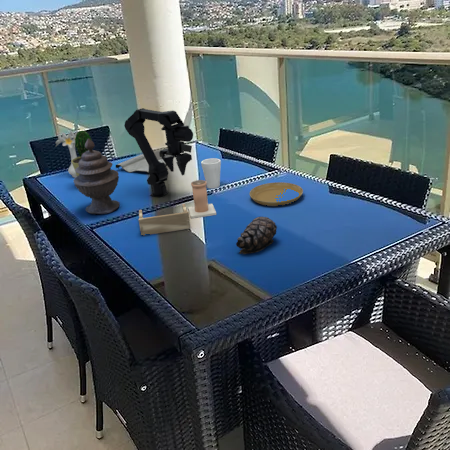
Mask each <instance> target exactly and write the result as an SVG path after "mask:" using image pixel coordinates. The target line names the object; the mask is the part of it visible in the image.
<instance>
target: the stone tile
mask: <svg viewBox="0 0 450 450" xmlns="http://www.w3.org/2000/svg"><path fill="white" fill-rule="evenodd" d="M213 204H214V203H208V211H206V212H196V211H195V207H194V205H193V206H188V207H187V209H188V210H187V211H188V212H189V218H190V219H197V218H204V217H210V216H217V211H216V209H215V207H214V205H213Z"/></svg>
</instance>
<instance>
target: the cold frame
mask: <svg viewBox="0 0 450 450" xmlns="http://www.w3.org/2000/svg"><path fill="white" fill-rule="evenodd" d="M181 205H182V211H181V212H176V213H168V214H163V215H155V216H148V217H143V216H144V215H143V210H142V209H139V210H138V217H139V218H138V223H139V224H138V225H139V231H140V236H141V235H143V236H146V235H145V234H150V235H156V234H163V233H168V232H169V233H170V232H175V231H183V230H189V229H191V222H190V221H191V220H190V213H189V211H188V210H187V209H188V208H187V207H186V203H181Z"/></svg>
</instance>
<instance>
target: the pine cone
mask: <svg viewBox="0 0 450 450" xmlns="http://www.w3.org/2000/svg"><path fill="white" fill-rule="evenodd" d="M277 229H278V226H277V225H276V222H275V221H274V220H273V219H270V218H269V217H267V216H258V217H255V218H254V219H252V221H250V223H249V224H248V225H246V227H245V229H244V230H243V232H241V233H240V236H238V237H237V242H235V245H236V247H238V249H240V250H239V252H238V253H239V254H242V255H247V254H254V253H255V254H256V253H258V252H260V251H262V250H264V249H266V248H267V247H268V246H270V245H272V244H273V243H275V240H274V239H273V238H274V237H275V236H276V235H277Z"/></svg>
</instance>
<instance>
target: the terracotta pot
mask: <svg viewBox="0 0 450 450" xmlns="http://www.w3.org/2000/svg"><path fill="white" fill-rule="evenodd" d="M190 187H191V189H192V198H193V204H194V205H193V206H194V207H195V211H196V212H206V211H208V204H209V202H208V192H207V189H208V188H207V182H206V181H205V180H204V179H198V180H197V179H196V180H194V181H192V182H191V183H190Z"/></svg>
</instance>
